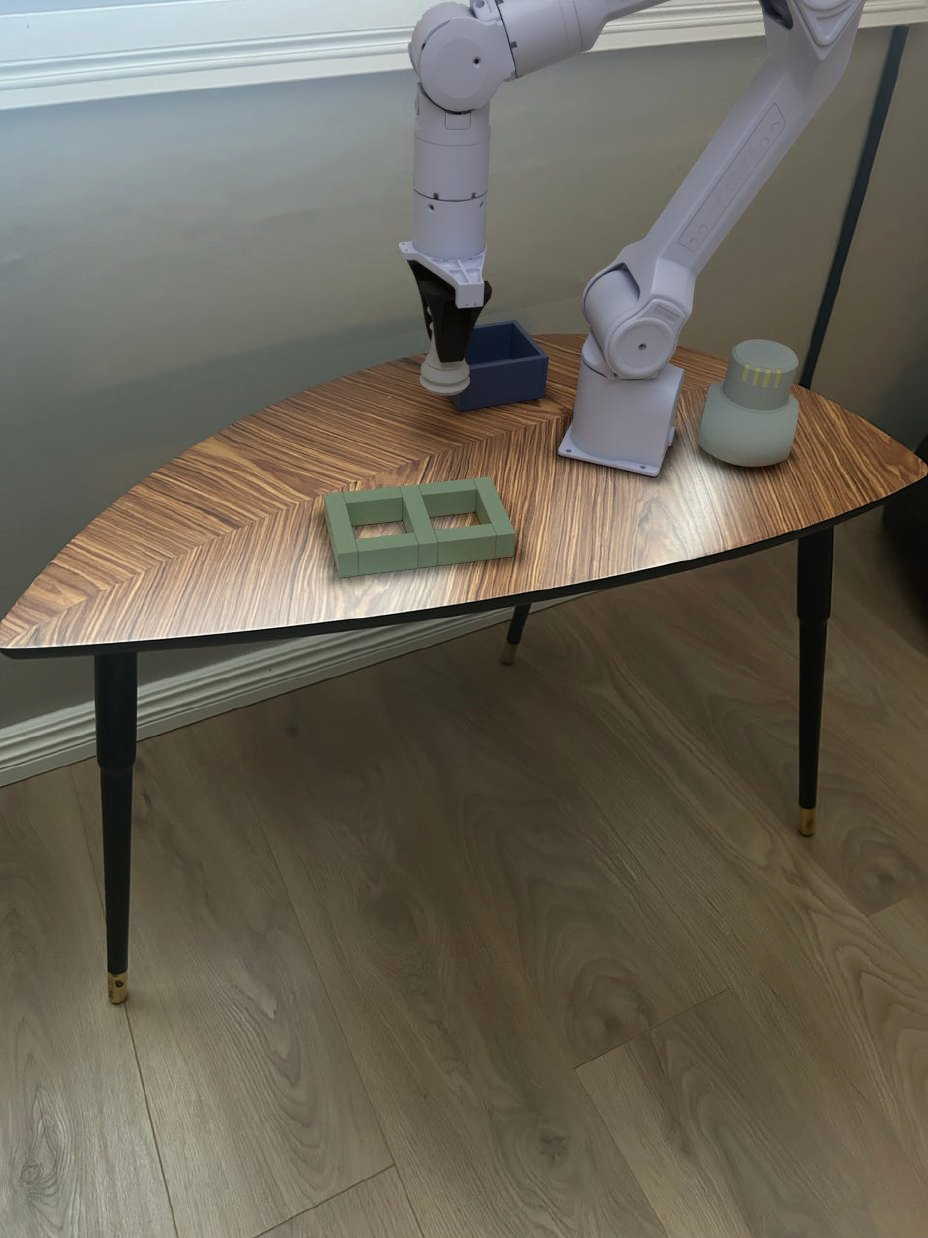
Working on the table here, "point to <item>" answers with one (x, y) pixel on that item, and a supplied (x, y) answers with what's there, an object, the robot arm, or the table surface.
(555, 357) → the table surface
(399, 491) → the frame
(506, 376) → the bin
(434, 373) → the rook chess piece
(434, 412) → the table surface
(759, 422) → the air freshener
